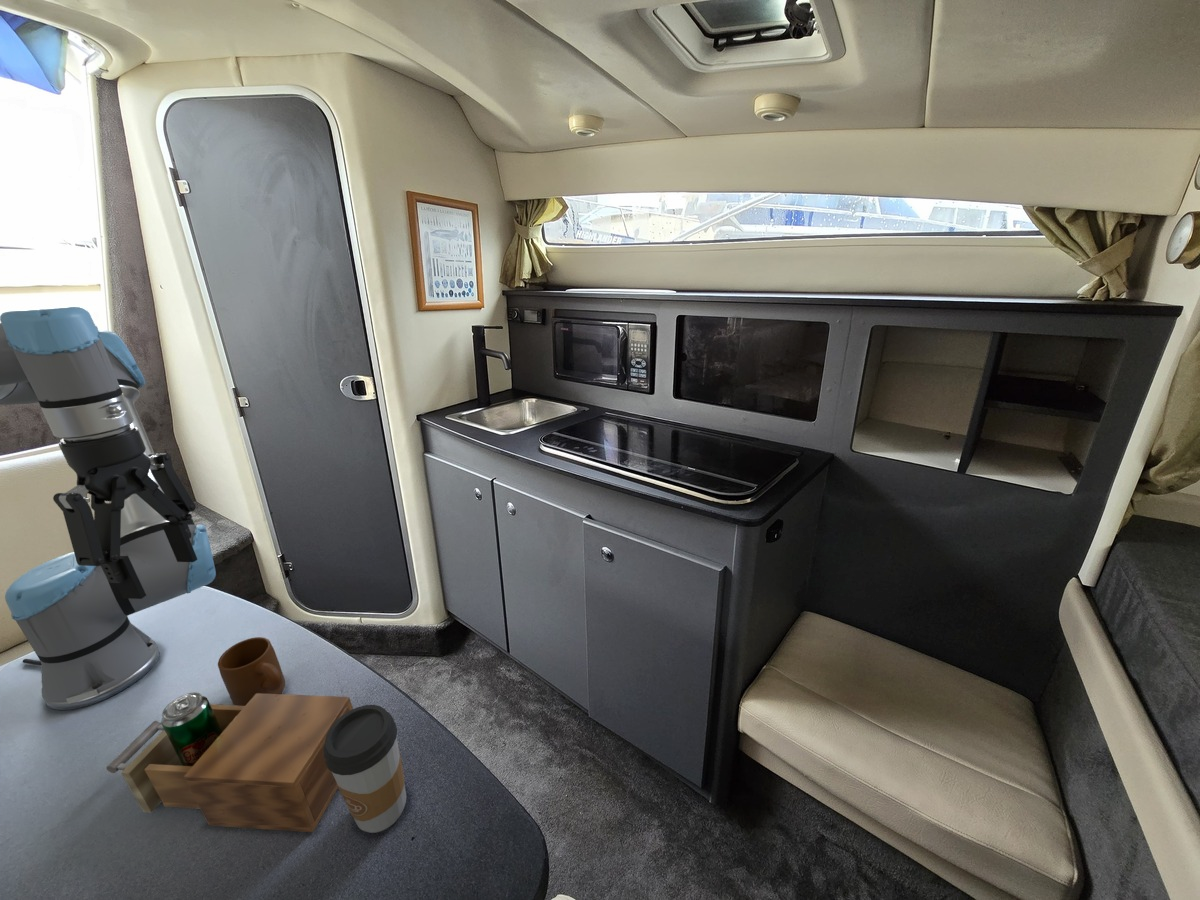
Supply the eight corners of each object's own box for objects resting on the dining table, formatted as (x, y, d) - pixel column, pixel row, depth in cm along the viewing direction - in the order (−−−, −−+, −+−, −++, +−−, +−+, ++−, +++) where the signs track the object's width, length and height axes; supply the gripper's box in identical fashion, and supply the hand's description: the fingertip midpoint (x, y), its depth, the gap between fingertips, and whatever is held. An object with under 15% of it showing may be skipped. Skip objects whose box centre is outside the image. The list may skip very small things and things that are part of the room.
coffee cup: (333, 829, 64) (303, 748, 59) (381, 770, 71) (358, 693, 66) (383, 854, 61) (356, 772, 56) (427, 790, 68) (408, 712, 63)
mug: (312, 695, 84) (297, 652, 81) (267, 731, 78) (249, 687, 75) (270, 671, 90) (254, 630, 86) (225, 703, 83) (206, 661, 80)
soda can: (193, 791, 67) (160, 729, 63) (186, 767, 71) (155, 706, 66) (236, 765, 71) (208, 704, 66) (228, 743, 74) (201, 683, 70)
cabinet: (208, 825, 65) (183, 776, 62) (274, 738, 77) (256, 693, 73) (313, 832, 64) (293, 782, 60) (363, 743, 76) (349, 696, 72)
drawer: (105, 809, 67) (80, 770, 64) (178, 733, 77) (159, 696, 74) (236, 818, 65) (217, 778, 62) (293, 739, 76) (279, 701, 73)
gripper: (31, 464, 53) (116, 629, 62) (192, 407, 73) (240, 539, 81) (-30, 464, 54) (62, 627, 63) (145, 407, 73) (197, 538, 82)
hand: (162, 577), depth 72 cm, fingers open, 8 cm apart
